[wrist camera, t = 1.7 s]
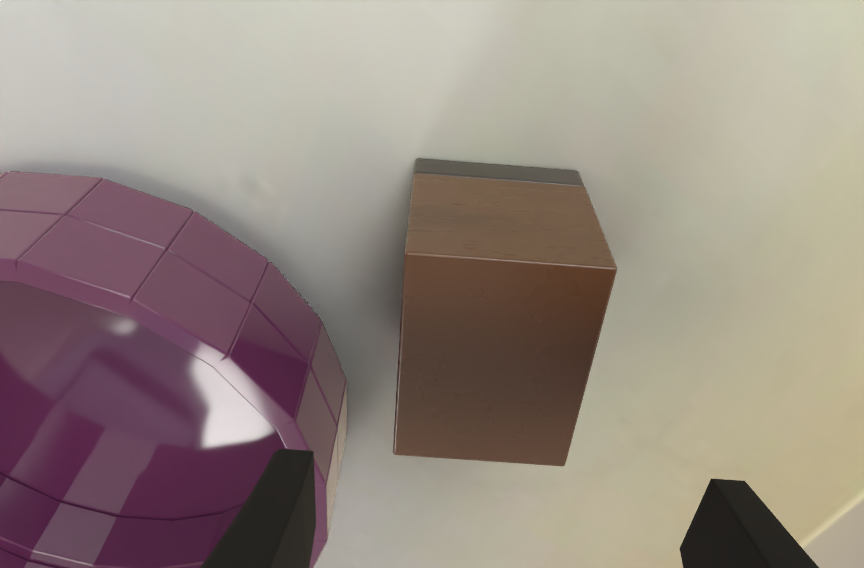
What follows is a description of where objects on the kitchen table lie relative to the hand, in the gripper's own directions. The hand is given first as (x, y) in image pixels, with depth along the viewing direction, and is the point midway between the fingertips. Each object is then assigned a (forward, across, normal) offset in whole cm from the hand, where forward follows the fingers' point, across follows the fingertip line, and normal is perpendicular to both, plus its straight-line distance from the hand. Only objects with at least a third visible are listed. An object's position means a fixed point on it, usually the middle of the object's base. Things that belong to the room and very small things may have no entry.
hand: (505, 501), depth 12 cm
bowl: (+9, +12, +6) cm, 15 cm away
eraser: (+9, 0, 0) cm, 9 cm away
